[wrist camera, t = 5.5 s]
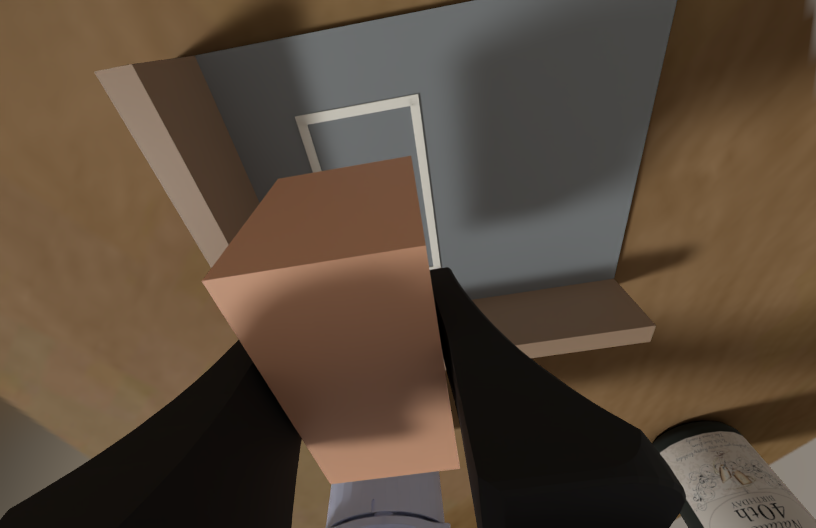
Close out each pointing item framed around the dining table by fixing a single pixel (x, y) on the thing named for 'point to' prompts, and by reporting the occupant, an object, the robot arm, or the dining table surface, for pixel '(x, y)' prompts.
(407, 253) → the terracotta block
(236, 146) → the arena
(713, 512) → the wine bottle
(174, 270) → the dining table surface
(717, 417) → the dining table surface
